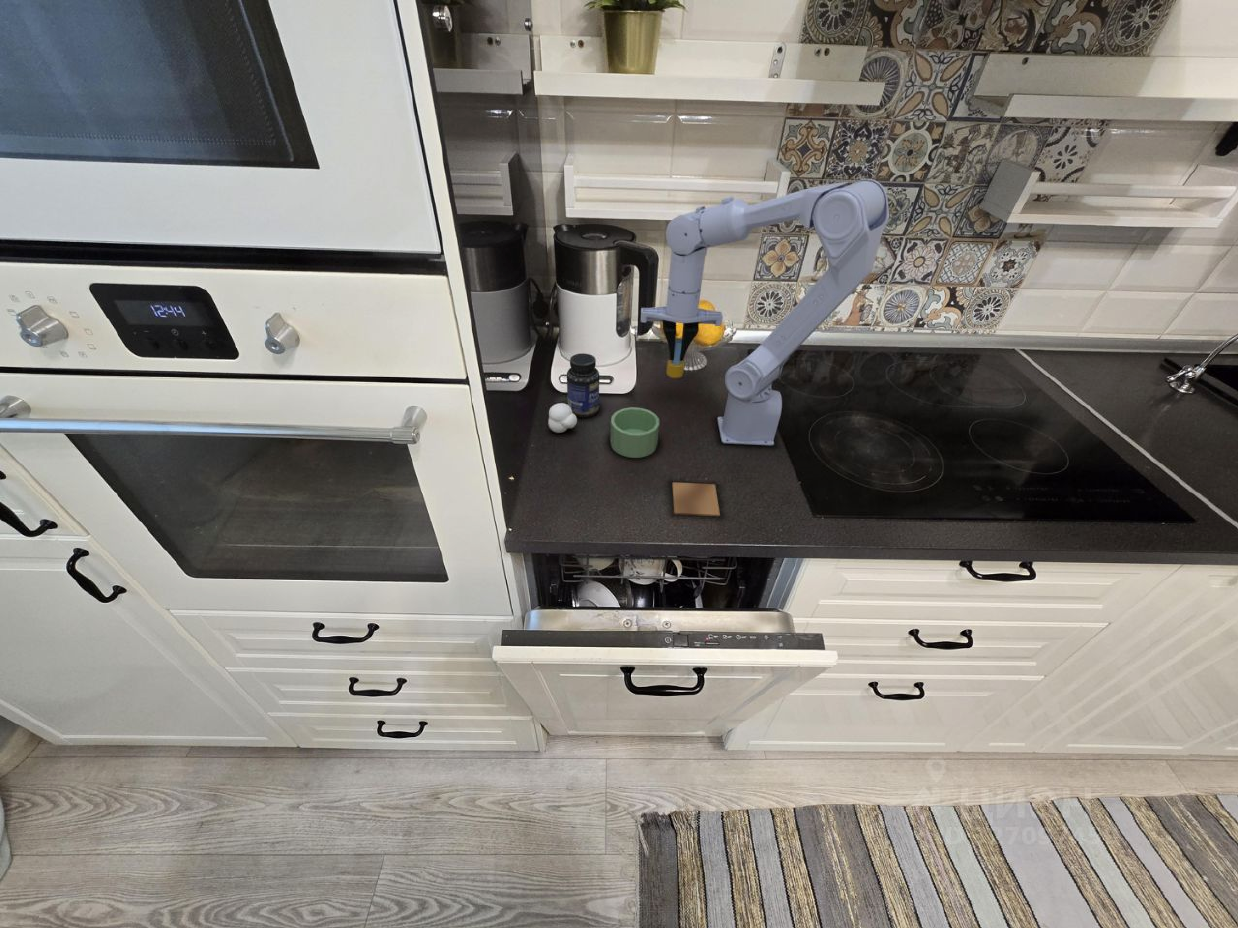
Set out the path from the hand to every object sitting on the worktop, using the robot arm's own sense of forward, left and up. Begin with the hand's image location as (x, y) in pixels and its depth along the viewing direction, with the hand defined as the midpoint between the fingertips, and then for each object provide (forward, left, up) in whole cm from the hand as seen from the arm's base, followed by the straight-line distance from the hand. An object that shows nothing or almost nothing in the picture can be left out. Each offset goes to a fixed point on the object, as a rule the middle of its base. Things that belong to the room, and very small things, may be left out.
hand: (676, 358), depth 98 cm
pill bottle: (+18, +5, -10) cm, 21 cm away
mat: (-2, +29, -10) cm, 30 cm away
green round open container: (+7, +15, -10) cm, 19 cm away
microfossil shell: (+21, +12, -10) cm, 26 cm away
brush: (0, 0, -3) cm, 3 cm away
